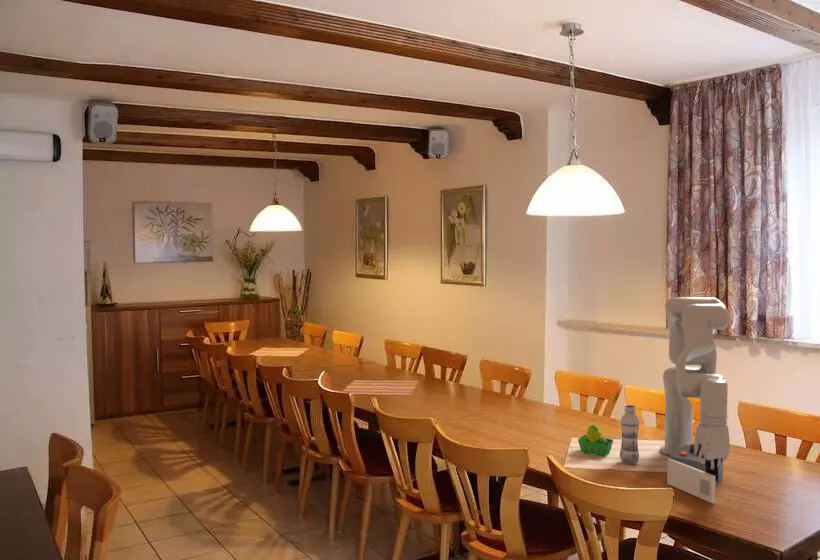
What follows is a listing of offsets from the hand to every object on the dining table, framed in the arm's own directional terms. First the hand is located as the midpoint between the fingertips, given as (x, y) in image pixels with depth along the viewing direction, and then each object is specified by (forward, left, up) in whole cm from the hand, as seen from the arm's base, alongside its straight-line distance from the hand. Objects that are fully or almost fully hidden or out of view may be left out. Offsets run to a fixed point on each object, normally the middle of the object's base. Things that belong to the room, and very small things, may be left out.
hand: (711, 480), depth 209 cm
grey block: (-14, -8, -6) cm, 17 cm away
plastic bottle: (-19, -32, -6) cm, 38 cm away
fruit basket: (-22, -46, -6) cm, 51 cm away
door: (0, -7, -5) cm, 8 cm away
